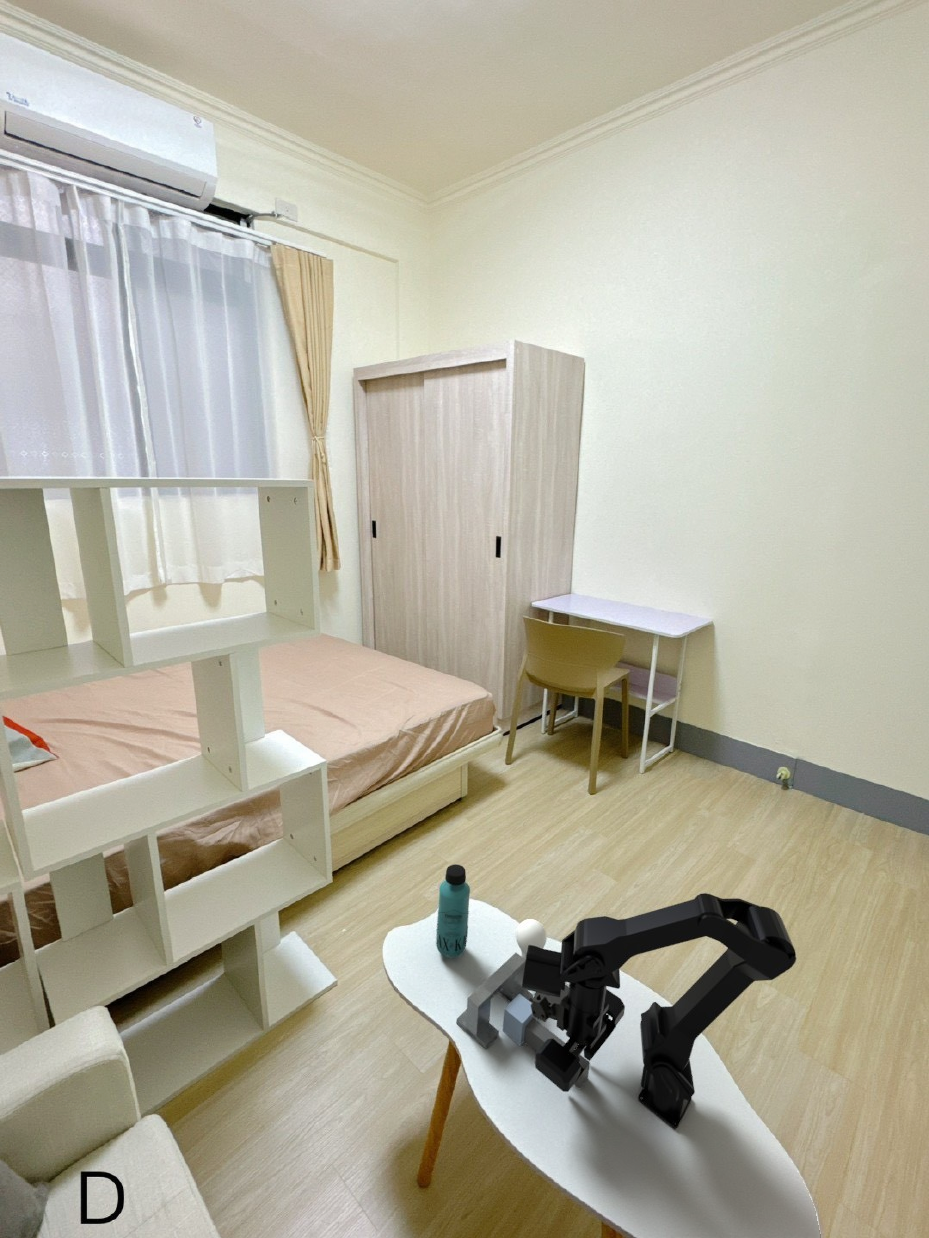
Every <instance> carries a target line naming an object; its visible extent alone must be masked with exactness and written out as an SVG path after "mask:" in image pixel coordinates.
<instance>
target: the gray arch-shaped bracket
mask: <svg viewBox="0 0 929 1238" xmlns="http://www.w3.org/2000/svg"><path fill="white" fill-rule="evenodd" d="M525 961H526V959H524V958H523V957H522V955H521V954H519V953H517V952H514V954H512V955H511V956H510V957H509V958H508V959H507V960H506V961H505V962H504V963H503V964H502V965H501V966H500V967H499V968H497V969H496V971H495V972H493V973H492V974H491V975H490V976H489V977H488V978H487V979H486V980H484V982H483V983H481V984H480V986H478V987H477V988H476V989H475V990H474V991H473V992H472V993H470V994H469V996H467V1003H466V1009H465V1010H464V1011H463V1012H462V1013H461V1014H460V1015H459V1016H458V1017H456V1021H455V1022H456V1024H457V1026H458V1027H460V1028H461V1029H462V1030H463V1031H465V1032H466V1034H468V1036H470V1037H471V1038H472V1039H473V1040H474V1041H475V1042H477V1043H478V1044H479V1045H480V1046H481V1047H482V1048H483V1049H484V1050H487V1049H488V1047H490V1045H492V1043H493V1042H494V1041H495V1040H496V1039H497V1038H498V1037H499V1036H500V1030H498V1028H497V1027H495V1026H493V1024H491V1023H490V1020H491V1019H490V1018H491V1007H492V1006H491V1005H492V999H493V998H494V997H495V996H496V995H497V994H499V995H501V996H502V997H503V998H505V999H506V1000H507V1001H508V1002H509V1003H511V1002H512V1001H513V1000H514V999H515V997H516V996H517V995H518V994H521V995H522V996H523V997H525V998H526V999H527V1000H529V1001H530V1002H532V998H533V997H534V994H533V993H532V992H531V991H529V990H525V989H522V982H523V974H524V968H525Z"/></svg>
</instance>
